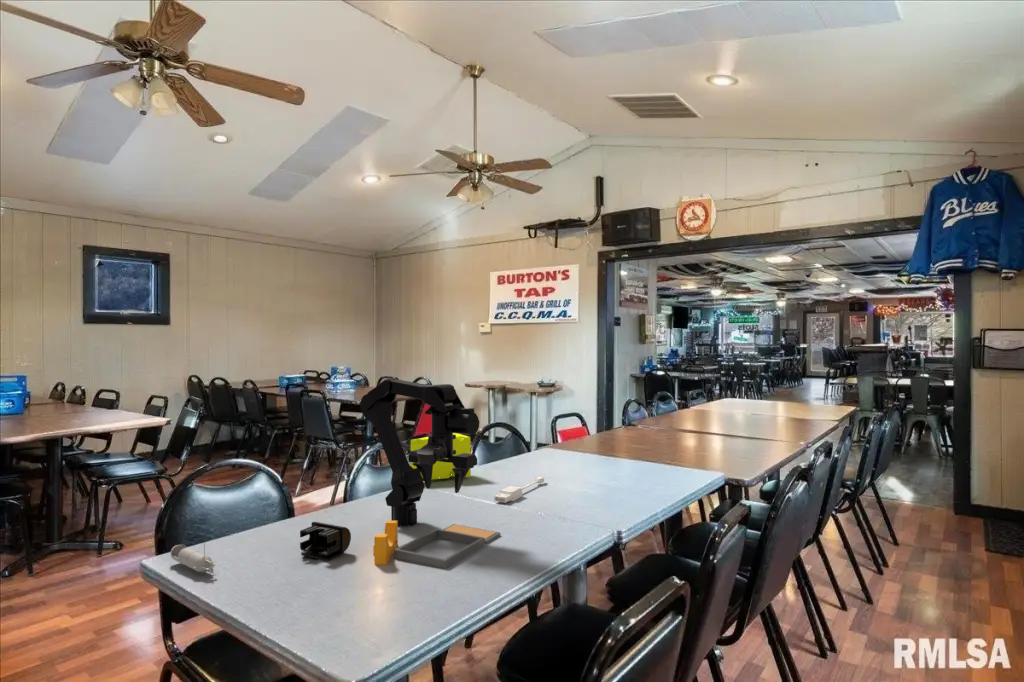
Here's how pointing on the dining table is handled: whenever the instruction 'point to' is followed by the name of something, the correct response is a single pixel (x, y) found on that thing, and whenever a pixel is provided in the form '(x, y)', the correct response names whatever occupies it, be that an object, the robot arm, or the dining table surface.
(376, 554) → the pipe clamp
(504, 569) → the dining table surface
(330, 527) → the end cap
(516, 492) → the charging cable
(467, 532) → the lid
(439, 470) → the cheese wedge
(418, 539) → the gray rectangular frame
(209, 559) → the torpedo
